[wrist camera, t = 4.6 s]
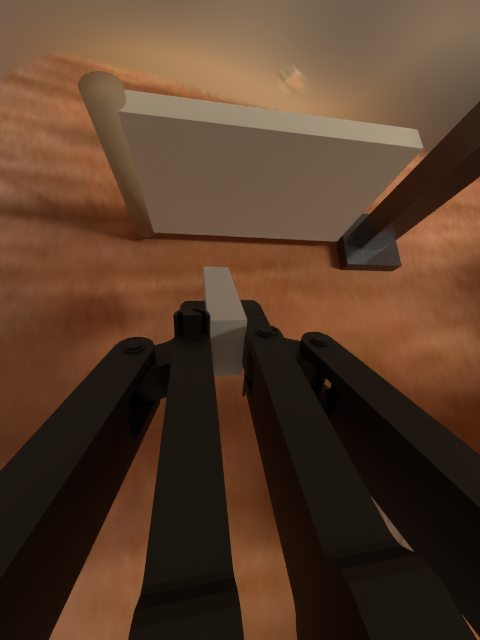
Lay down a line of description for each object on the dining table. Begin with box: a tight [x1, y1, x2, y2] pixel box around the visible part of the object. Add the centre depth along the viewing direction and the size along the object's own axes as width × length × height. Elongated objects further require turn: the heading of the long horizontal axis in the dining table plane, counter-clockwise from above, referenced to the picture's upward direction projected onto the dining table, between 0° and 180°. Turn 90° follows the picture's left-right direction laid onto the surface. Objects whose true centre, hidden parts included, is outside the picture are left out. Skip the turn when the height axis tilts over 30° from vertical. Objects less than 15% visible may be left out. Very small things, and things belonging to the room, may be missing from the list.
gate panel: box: [78, 71, 423, 242], centre depth 18 cm, size 19×2×11 cm, turn 93°
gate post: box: [337, 101, 480, 271], centre depth 20 cm, size 6×6×14 cm
